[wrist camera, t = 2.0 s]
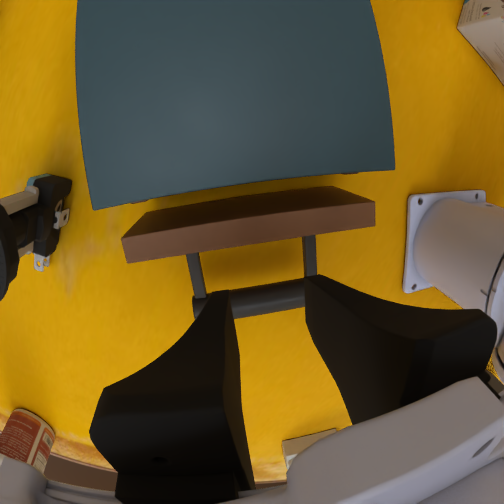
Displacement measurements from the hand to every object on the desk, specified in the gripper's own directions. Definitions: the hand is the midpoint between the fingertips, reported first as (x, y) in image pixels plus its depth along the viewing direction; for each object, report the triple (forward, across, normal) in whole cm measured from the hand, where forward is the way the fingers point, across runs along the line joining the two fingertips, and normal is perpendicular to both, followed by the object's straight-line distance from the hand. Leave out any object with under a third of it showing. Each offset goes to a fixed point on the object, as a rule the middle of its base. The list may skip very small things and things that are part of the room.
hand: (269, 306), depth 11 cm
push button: (+9, +13, -4) cm, 16 cm away
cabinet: (+8, 0, -12) cm, 14 cm away
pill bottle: (+9, +28, +18) cm, 34 cm away
